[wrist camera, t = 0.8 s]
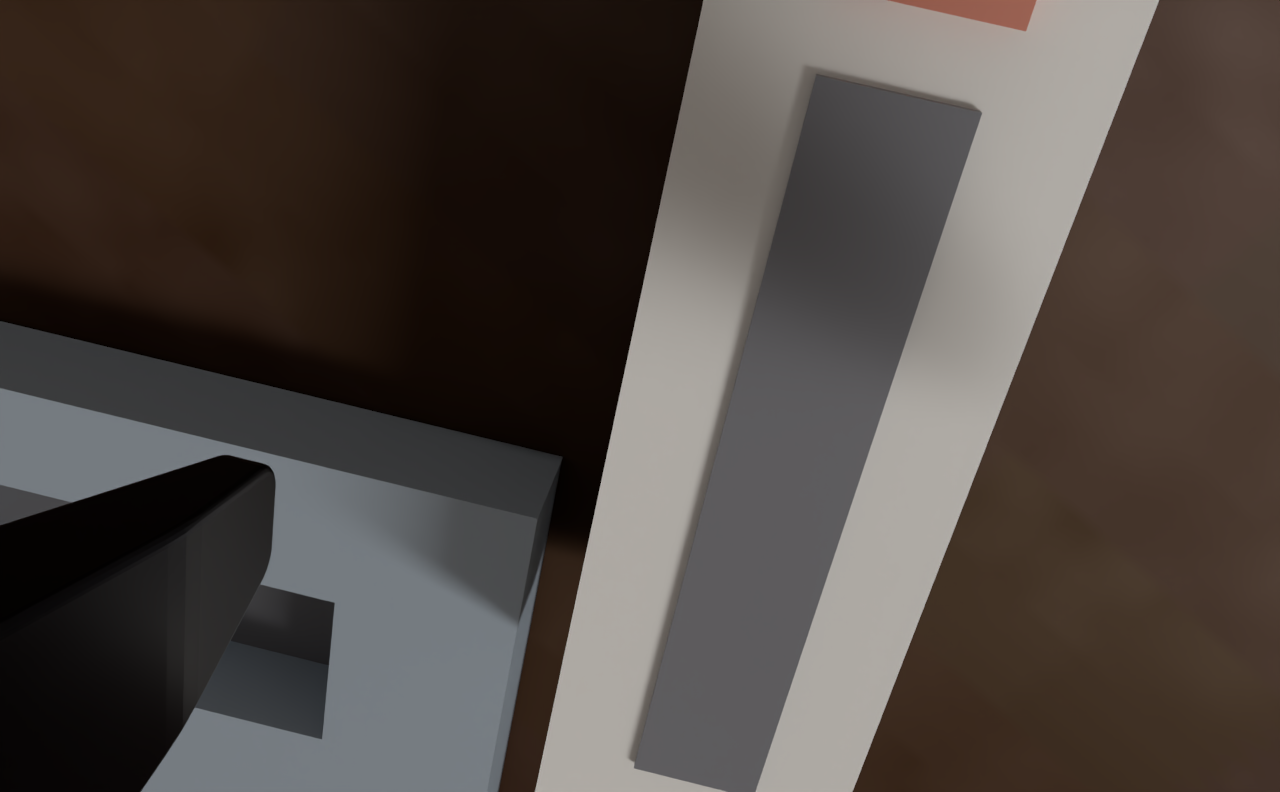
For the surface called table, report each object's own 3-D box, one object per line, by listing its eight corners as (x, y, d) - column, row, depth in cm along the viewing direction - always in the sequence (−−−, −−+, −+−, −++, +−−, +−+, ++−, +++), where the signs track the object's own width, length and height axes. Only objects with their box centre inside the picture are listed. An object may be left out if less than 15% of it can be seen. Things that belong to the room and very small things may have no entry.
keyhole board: (449, 1046, 26) (422, 1135, 24) (-126, 897, 26) (-195, 972, 24) (563, 456, 19) (537, 518, 17) (-227, 266, 19) (-334, 307, 17)
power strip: (815, 643, 20) (818, 896, 15) (594, 589, 20) (527, 822, 15) (1089, -168, 14) (1244, -191, 9) (777, -236, 14) (763, -295, 9)
